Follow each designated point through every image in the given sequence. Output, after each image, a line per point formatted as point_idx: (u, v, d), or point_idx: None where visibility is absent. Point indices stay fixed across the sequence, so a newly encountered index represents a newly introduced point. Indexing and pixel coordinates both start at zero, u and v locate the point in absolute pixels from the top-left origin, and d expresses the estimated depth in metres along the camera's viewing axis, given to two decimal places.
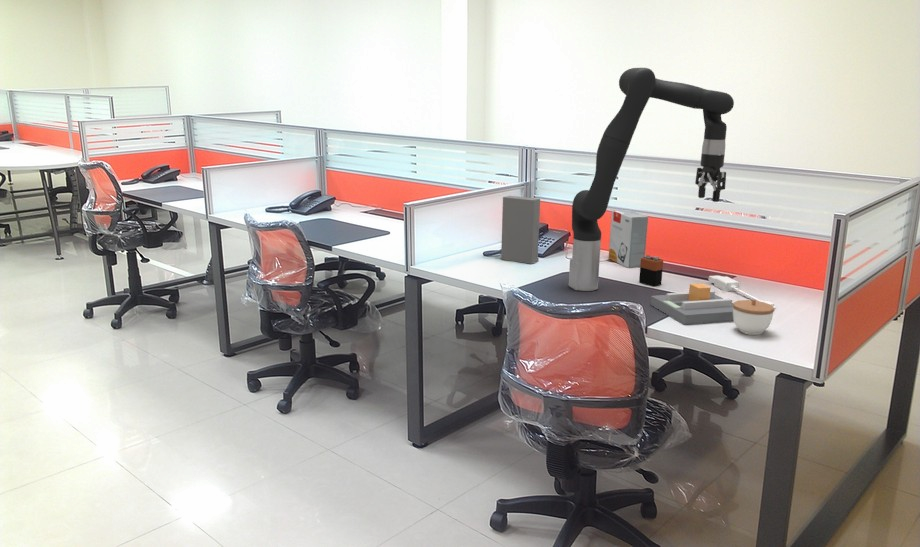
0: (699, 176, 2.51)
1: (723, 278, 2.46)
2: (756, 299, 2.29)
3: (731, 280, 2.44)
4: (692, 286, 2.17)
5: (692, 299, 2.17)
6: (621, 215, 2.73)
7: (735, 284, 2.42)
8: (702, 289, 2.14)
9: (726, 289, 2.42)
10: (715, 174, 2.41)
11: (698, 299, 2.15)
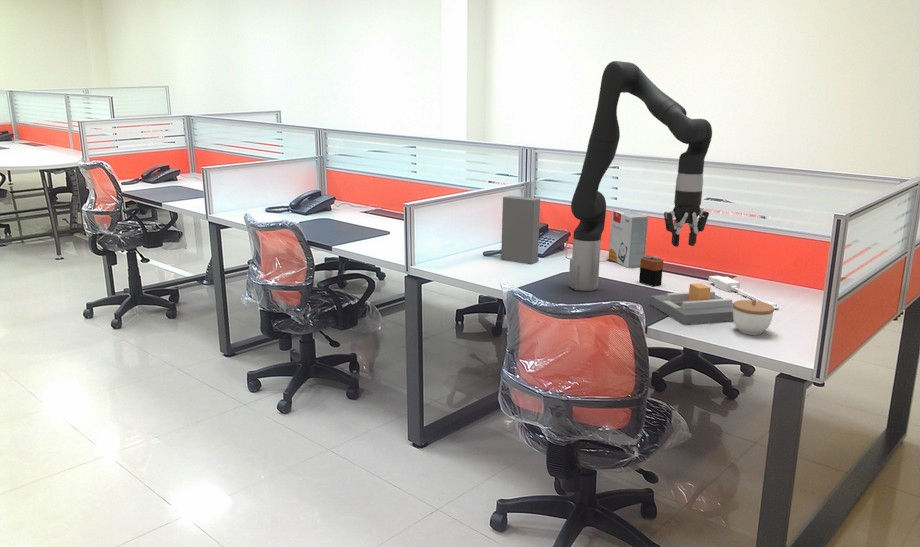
0: None
1: (723, 278, 2.45)
2: (758, 299, 2.29)
3: (731, 280, 2.44)
4: (692, 286, 2.17)
5: (692, 299, 2.17)
6: (621, 215, 2.73)
7: (736, 284, 2.42)
8: (702, 289, 2.14)
9: (727, 289, 2.41)
10: (699, 213, 2.09)
11: (698, 299, 2.15)
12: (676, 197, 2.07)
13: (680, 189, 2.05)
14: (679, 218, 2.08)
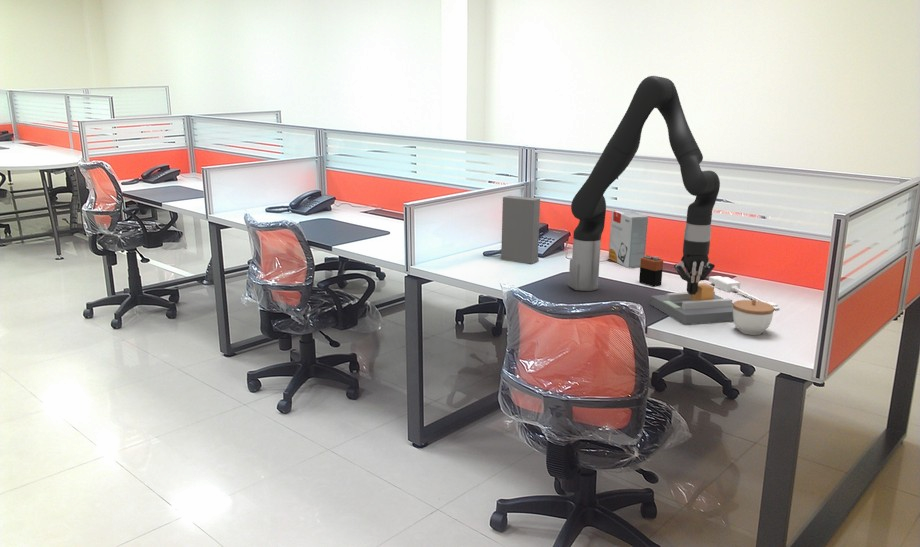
0: None
1: (724, 279, 2.45)
2: (759, 300, 2.29)
3: (732, 280, 2.44)
4: None
5: (696, 299, 2.18)
6: (621, 215, 2.73)
7: (736, 285, 2.41)
8: (706, 289, 2.14)
9: (727, 290, 2.41)
10: (706, 262, 2.14)
11: (702, 299, 2.15)
12: (684, 246, 2.12)
13: (688, 239, 2.10)
14: (687, 267, 2.13)
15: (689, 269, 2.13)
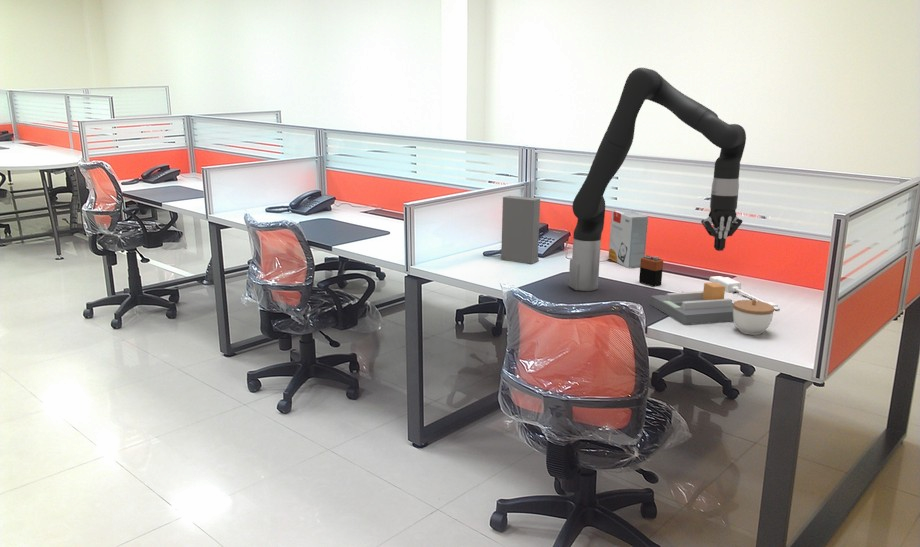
0: None
1: (724, 279, 2.45)
2: (759, 300, 2.29)
3: (732, 280, 2.43)
4: (707, 285, 2.18)
5: (707, 298, 2.19)
6: (621, 215, 2.73)
7: (737, 285, 2.41)
8: (717, 288, 2.15)
9: (728, 290, 2.41)
10: (734, 217, 2.12)
11: (713, 298, 2.16)
12: (712, 201, 2.10)
13: (716, 193, 2.08)
14: (715, 222, 2.11)
15: (717, 224, 2.11)
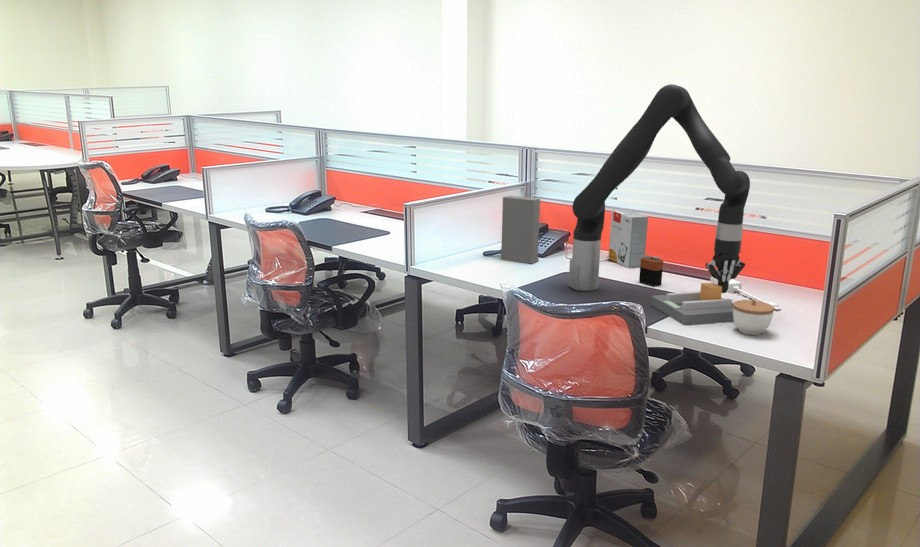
0: None
1: None
2: (760, 300, 2.28)
3: (733, 280, 2.43)
4: (704, 285, 2.18)
5: (704, 298, 2.18)
6: (621, 215, 2.73)
7: (738, 285, 2.41)
8: (714, 288, 2.15)
9: (729, 290, 2.40)
10: (737, 261, 2.17)
11: (710, 298, 2.16)
12: (716, 245, 2.15)
13: (720, 238, 2.13)
14: (719, 266, 2.16)
15: (720, 268, 2.16)
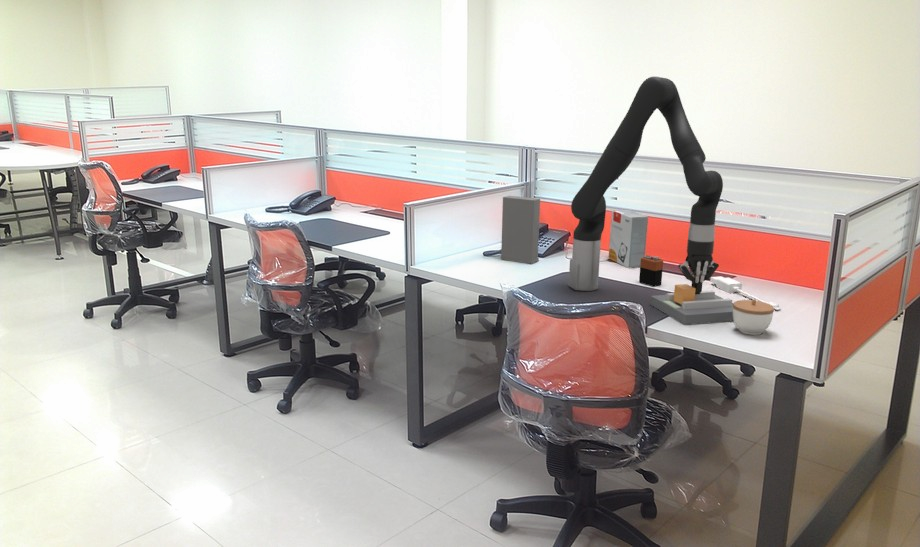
0: None
1: (725, 279, 2.44)
2: (760, 300, 2.28)
3: (733, 281, 2.43)
4: (677, 287, 2.16)
5: (677, 300, 2.16)
6: (621, 215, 2.73)
7: (738, 285, 2.41)
8: (687, 290, 2.13)
9: (729, 290, 2.40)
10: (710, 262, 2.15)
11: (683, 300, 2.14)
12: (689, 246, 2.13)
13: (692, 239, 2.11)
14: (692, 267, 2.13)
15: (693, 269, 2.14)
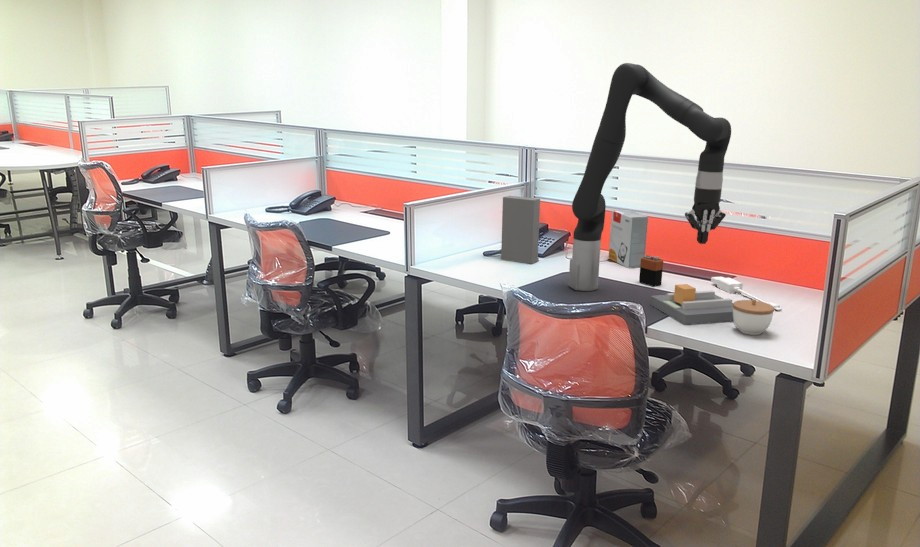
0: None
1: (726, 279, 2.44)
2: (761, 300, 2.28)
3: (734, 281, 2.43)
4: (677, 287, 2.16)
5: (677, 300, 2.16)
6: (621, 215, 2.73)
7: (738, 285, 2.40)
8: (687, 290, 2.13)
9: (730, 290, 2.40)
10: (717, 211, 2.13)
11: (683, 300, 2.14)
12: (696, 194, 2.11)
13: (700, 187, 2.09)
14: (698, 215, 2.11)
15: (700, 217, 2.12)
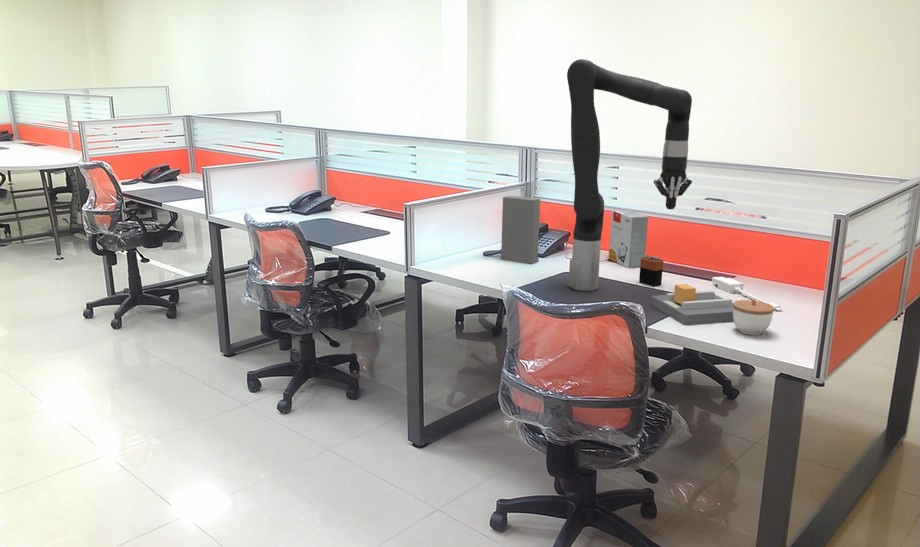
0: None
1: (727, 280, 2.44)
2: (761, 301, 2.28)
3: (734, 281, 2.42)
4: (677, 287, 2.16)
5: (677, 300, 2.16)
6: (621, 215, 2.73)
7: (739, 286, 2.40)
8: (687, 290, 2.13)
9: (730, 291, 2.40)
10: (684, 178, 2.26)
11: (683, 300, 2.14)
12: (663, 162, 2.24)
13: (667, 155, 2.22)
14: (666, 182, 2.25)
15: (668, 184, 2.25)
